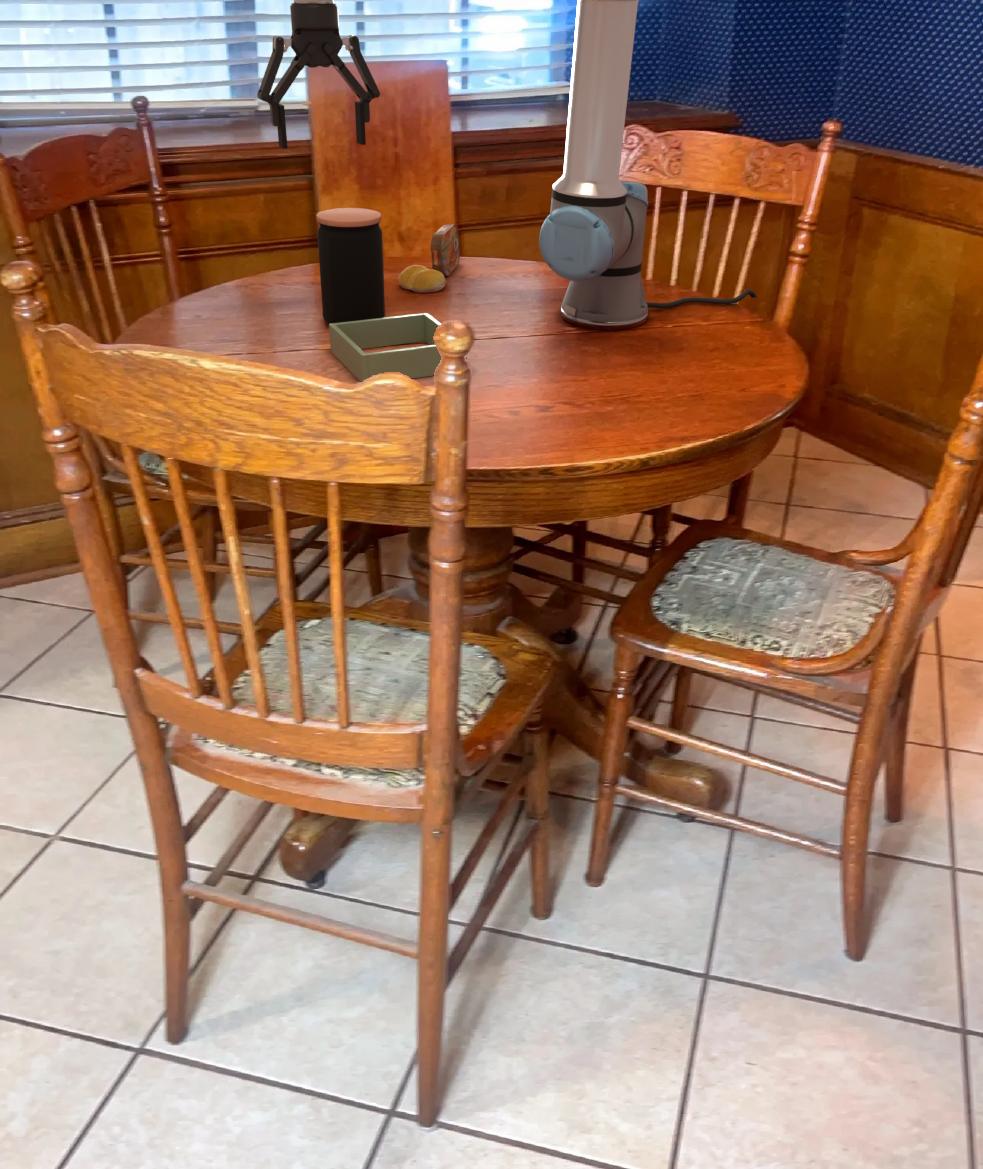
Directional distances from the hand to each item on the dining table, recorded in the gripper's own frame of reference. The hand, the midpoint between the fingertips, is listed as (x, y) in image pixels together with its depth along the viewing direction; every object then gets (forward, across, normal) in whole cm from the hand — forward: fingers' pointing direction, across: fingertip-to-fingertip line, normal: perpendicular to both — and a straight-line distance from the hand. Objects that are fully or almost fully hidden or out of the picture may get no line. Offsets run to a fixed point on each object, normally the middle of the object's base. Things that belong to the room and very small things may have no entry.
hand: (322, 146), depth 175 cm
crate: (+27, 0, +34) cm, 44 cm away
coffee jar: (+27, 0, +13) cm, 30 cm away
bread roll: (+27, -19, -4) cm, 33 cm away
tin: (+27, -28, -14) cm, 41 cm away
